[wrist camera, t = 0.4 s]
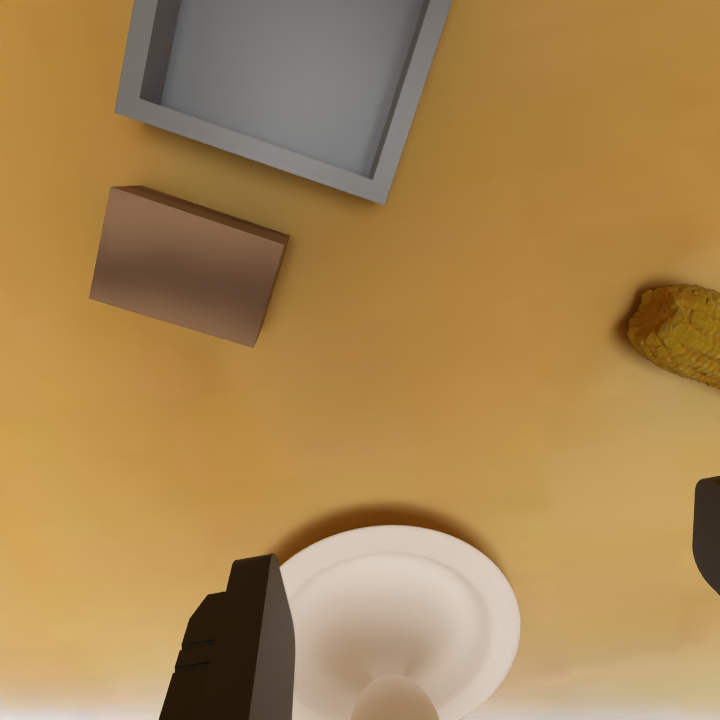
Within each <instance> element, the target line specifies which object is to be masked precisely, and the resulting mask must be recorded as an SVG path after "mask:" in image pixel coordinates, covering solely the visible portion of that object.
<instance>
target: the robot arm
mask: <svg viewBox="0 0 720 720" xmlns="http://www.w3.org/2000/svg"><path fill="white" fill-rule="evenodd" d="M692 546H693V555H694V559H695V562H696V564H697V567H698V569H699V571H700V573H701V574H702V576H703V577H704V579H705V580H706V581H707V583H708V584H709V585H710V586H711V587H712V588H713V589H714V590H715V591H716V592H717V593H718V594H719V595H720V476H716V477H711V478H705V479H701V480H700V481H699V482H698V483H697V485H696V488H695V503H694V524H693V544H692ZM295 653H296V649H295V633H294V625H293V620H292V615H291V611H290V607H289V603H288V599H287V595H286V591H285V587H284V583H283V579H282V575H281V571H280V567H279V563H278V560H277V557H276V555H275V554H268V555H262V556H257V557H251V558H245V559H240V560H235V561H234V562H233V564H232V568H231V572H230V577H229V581H228V585H227V589H226V592H220V593H214V594H209V595H207V596H206V598H205V599H204V600H203V602H202V603H201V604H200V606H199V607H198V608H197V610H196V611H195V612H194V614H193V615H192V616H191V618H190V619H189V622H188V625H187V629H186V632H185V635H184V639H183V642H182V650H180V652H179V655H178V658H177V662H176V665H175V673H173V675H172V678H171V681H170V684H169V688H168V691H167V694H166V698H165V701H164V704H163V707H162V711H161V714H160V717H159V720H292V708H293V690H294V672H295Z"/></svg>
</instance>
